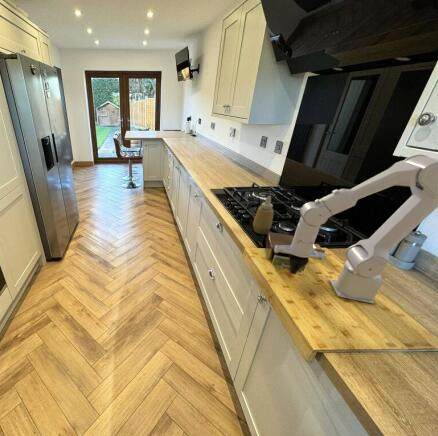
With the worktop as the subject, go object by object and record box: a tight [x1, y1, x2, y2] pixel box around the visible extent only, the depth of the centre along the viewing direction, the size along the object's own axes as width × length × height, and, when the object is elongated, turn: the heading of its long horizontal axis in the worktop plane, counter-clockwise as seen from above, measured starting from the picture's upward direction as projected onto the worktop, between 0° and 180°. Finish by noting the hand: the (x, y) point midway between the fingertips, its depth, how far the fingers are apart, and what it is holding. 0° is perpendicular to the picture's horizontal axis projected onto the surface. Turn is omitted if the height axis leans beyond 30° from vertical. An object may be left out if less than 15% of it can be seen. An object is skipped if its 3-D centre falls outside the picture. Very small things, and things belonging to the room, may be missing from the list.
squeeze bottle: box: [252, 195, 275, 235], centre depth 109 cm, size 8×8×18 cm
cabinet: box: [264, 231, 294, 262], centre depth 96 cm, size 14×12×6 cm
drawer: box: [271, 251, 307, 273], centre depth 90 cm, size 17×10×4 cm, turn 161°
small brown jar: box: [312, 243, 326, 254], centre depth 96 cm, size 4×5×4 cm
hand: (292, 272), depth 81 cm, fingers closed, pressing on drawer
